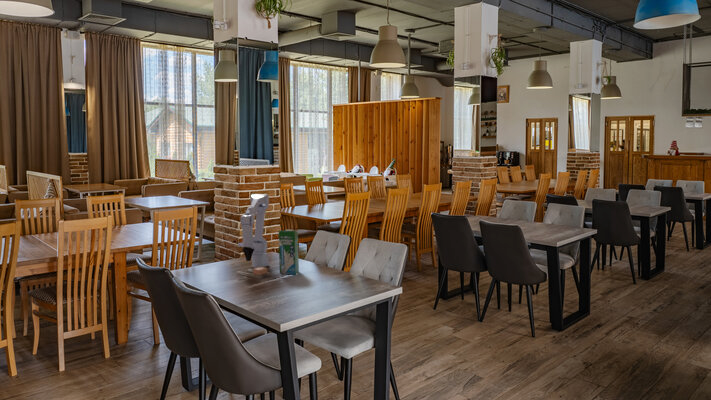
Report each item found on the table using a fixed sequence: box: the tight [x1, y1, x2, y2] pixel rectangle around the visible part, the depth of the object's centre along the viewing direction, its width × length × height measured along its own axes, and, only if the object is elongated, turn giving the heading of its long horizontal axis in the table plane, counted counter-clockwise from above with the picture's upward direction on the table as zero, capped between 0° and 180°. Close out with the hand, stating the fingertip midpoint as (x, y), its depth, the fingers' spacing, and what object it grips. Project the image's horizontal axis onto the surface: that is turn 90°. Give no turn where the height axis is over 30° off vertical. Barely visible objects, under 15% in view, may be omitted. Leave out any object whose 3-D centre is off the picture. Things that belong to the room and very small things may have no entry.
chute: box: [236, 268, 272, 279], centre depth 296 cm, size 11×18×2 cm, turn 53°
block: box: [252, 267, 269, 275], centre depth 293 cm, size 6×5×4 cm
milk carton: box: [278, 228, 300, 276], centre depth 302 cm, size 9×9×25 cm
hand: (248, 260), depth 298 cm, fingers closed
